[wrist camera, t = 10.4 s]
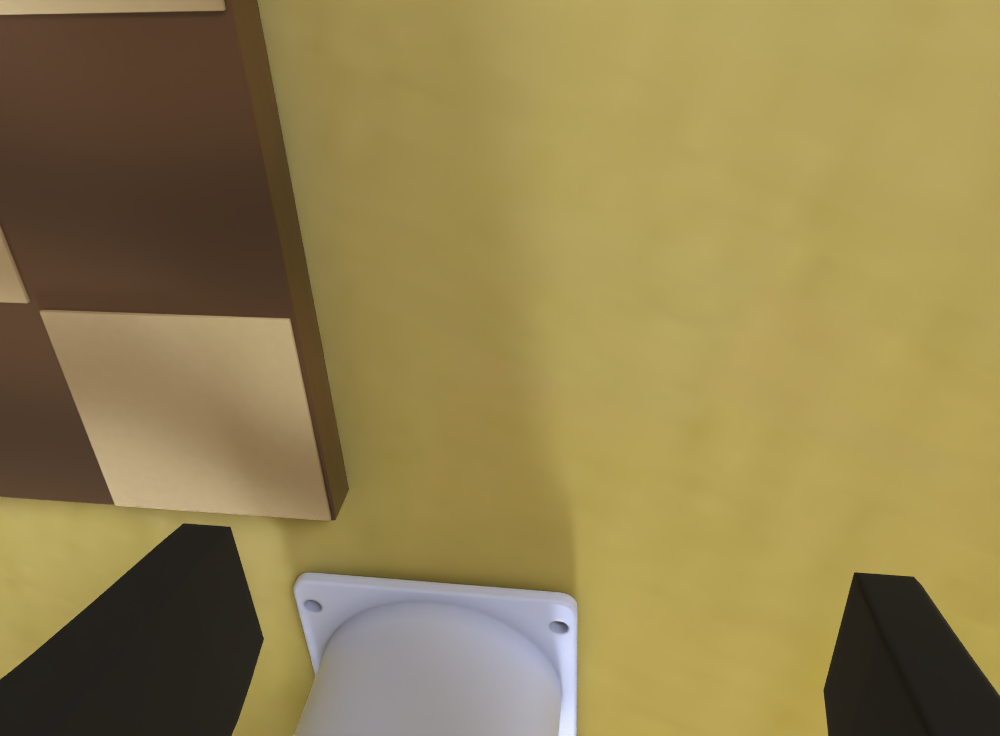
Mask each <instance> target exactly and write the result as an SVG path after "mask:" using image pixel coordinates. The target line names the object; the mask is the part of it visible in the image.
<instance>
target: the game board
mask: <svg viewBox="0 0 1000 736" xmlns="http://www.w3.org/2000/svg"><path fill="white" fill-rule="evenodd" d="M348 490H349V488H348V483H347V477H346V472H345V467H344V461H343V456H342V451H341V445H340V440H339V435H338V429H337V424H336V419H335V413H334V408H333V403H332V397H331V392H330V387H329V381H328V376H327V371H326V365H325V360H324V355H323V349H322V344H321V339H320V333H319V328H318V323H317V317H316V312H315V307H314V301H313V296H312V291H311V285H310V280H309V275H308V269H307V264H306V259H305V253H304V248H303V243H302V237H301V232H300V227H299V221H298V216H297V211H296V205H295V200H294V195H293V189H292V184H291V179H290V173H289V168H288V163H287V157H286V152H285V147H284V141H283V136H282V131H281V125H280V120H279V115H278V109H277V104H276V99H275V93H274V88H273V83H272V77H271V72H270V67H269V61H268V56H267V51H266V45H265V40H264V35H263V29H262V24H261V19H260V13H259V8H258V3H257V0H0V497H10V498H24V499H38V500H53V501H67V502H81V503H95V504H109V505H115V506H126V507H140V508H154V509H168V510H182V511H196V512H210V513H225V514H239V515H253V516H267V517H281V518H295V519H309V520H324V521H331V520H336V518H337V516H338V514H339V511H340V509H341V507H342V504H343V502H344V499H345V497H346V495H347V492H348Z"/></svg>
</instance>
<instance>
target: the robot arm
mask: <svg viewBox="0 0 1000 736" xmlns="http://www.w3.org/2000/svg"><path fill="white" fill-rule="evenodd" d="M293 592H294V596H295V600H296V604H297V607H298V611H299V615H300V619H301V623H302V627H303V631H304V635H305V639H306V642H307V646H308V650H309V654H310V658H311V662H312V666H313V670H314V674H315V679H314V681H313V684H312V687H311V689H310V692H309V695H308V697H307V700H306V703H305V705H304V708H303V711H302V713H301V716H300V719H299V721H298V724H297V727H296V729H295V732H294V735H293V736H577V653H578V605H577V602H576V600H575V599H574V598H573V597H571V596H570V595H568V594H566V593H561V592H551V591H539V590H526V589H514V588H501V587H488V586H476V585H463V584H451V583H438V582H426V581H413V580H401V579H388V578H376V577H363V576H351V575H338V574H326V573H313V572H310V573H303V574H301V575H299V577H298V578H297V580H296V582H295V585H294V587H293ZM557 621H561V622H557ZM263 640H264V638H263V635H262V631H261V628H260V625H259V621H258V618H257V614H256V611H255V608H254V604H253V601H252V598H251V594H250V591H249V588H248V584H247V581H246V578H245V574H244V571H243V567H242V564H241V561H240V557H239V554H238V551H237V547H236V544H235V541H234V537H233V534H232V530H231V527H225V526H211V525H197V524H182V525H181V526H180V527H179V528H178V529H176V530H175V531H174V532H173V533H172V534H170V535H169V536H168V537H167V538H166V539H164V540H163V541H162V542H161V543H160V544H159V545H157V546H156V547H155V548H154V549H153V550H152V551H151V552H149V553H148V554H147V555H146V556H145V557H144V558H143V559H141V560H140V561H139V562H138V563H137V564H136V565H135V566H133V567H132V568H131V569H130V570H129V571H128V572H127V573H126V574H124V575H123V576H122V577H121V578H120V579H119V580H118V581H116V582H115V583H114V584H113V585H112V586H111V587H110V588H108V589H107V590H106V591H105V592H104V593H103V594H102V595H100V596H99V597H98V598H97V599H96V600H95V601H94V602H92V603H91V604H90V605H89V606H88V607H87V608H85V609H84V610H83V611H82V612H81V613H80V614H78V615H77V616H76V617H75V618H74V619H73V620H71V621H70V622H69V623H68V624H67V625H66V626H64V627H63V628H62V629H61V630H60V631H59V632H57V633H56V634H55V635H54V636H53V637H52V638H50V639H49V640H48V641H47V642H46V643H45V644H43V645H42V646H41V647H40V648H39V649H38V650H36V651H35V652H34V653H33V654H32V655H30V656H29V657H28V658H27V659H26V660H24V661H23V662H22V663H21V664H19V665H18V666H17V667H16V668H14V669H13V670H12V671H11V672H9V673H8V674H7V675H6V676H4V677H3V678H2V679H1V680H0V736H231V735H232V733H233V730H234V728H235V726H236V723H237V721H238V719H239V716H240V713H241V710H242V707H243V704H244V701H245V698H246V695H247V692H248V689H249V686H250V683H251V679H252V676H253V673H254V669H255V666H256V663H257V659H258V656H259V653H260V650H261V646H262V643H263ZM824 698H825V708H826V717H827V726H828V735H829V736H1000V696H999V694H998V693H997V692H996V690H995V689H994V687H993V686H992V685H991V683H990V682H989V680H988V679H987V678H986V676H985V675H984V674H983V672H982V671H981V669H980V668H979V667H978V665H977V664H976V663H975V661H974V660H973V658H972V657H971V656H970V654H969V653H968V651H967V650H966V649H965V647H964V646H963V644H962V643H961V641H960V640H959V639H958V637H957V636H956V634H955V633H954V631H953V630H952V629H951V627H950V626H949V624H948V623H947V621H946V620H945V619H944V617H943V616H942V614H941V613H940V611H939V610H938V608H937V607H936V605H935V604H934V603H933V601H932V600H931V598H930V597H929V595H928V594H927V592H926V591H925V589H924V588H923V587H922V585H921V584H920V583H919V582H918V581H917V580H916V579H915V578H914V577H910V576H896V575H882V574H869V573H855V572H854V576H853V580H852V583H851V587H850V591H849V595H848V599H847V603H846V606H845V610H844V614H843V618H842V622H841V626H840V629H839V633H838V637H837V641H836V645H835V649H834V652H833V656H832V660H831V664H830V668H829V672H828V675H827V679H826V683H825V687H824Z"/></svg>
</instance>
